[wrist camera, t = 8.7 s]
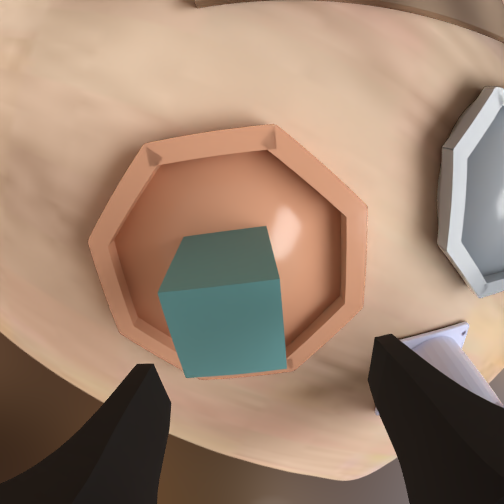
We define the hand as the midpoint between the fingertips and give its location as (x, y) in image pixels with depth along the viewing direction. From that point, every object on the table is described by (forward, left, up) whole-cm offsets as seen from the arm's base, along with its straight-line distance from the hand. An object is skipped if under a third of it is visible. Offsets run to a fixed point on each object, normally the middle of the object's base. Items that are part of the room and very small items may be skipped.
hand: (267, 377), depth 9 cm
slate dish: (+3, -20, -9) cm, 22 cm away
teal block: (0, +1, -9) cm, 9 cm away
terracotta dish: (0, +1, -9) cm, 10 cm away
